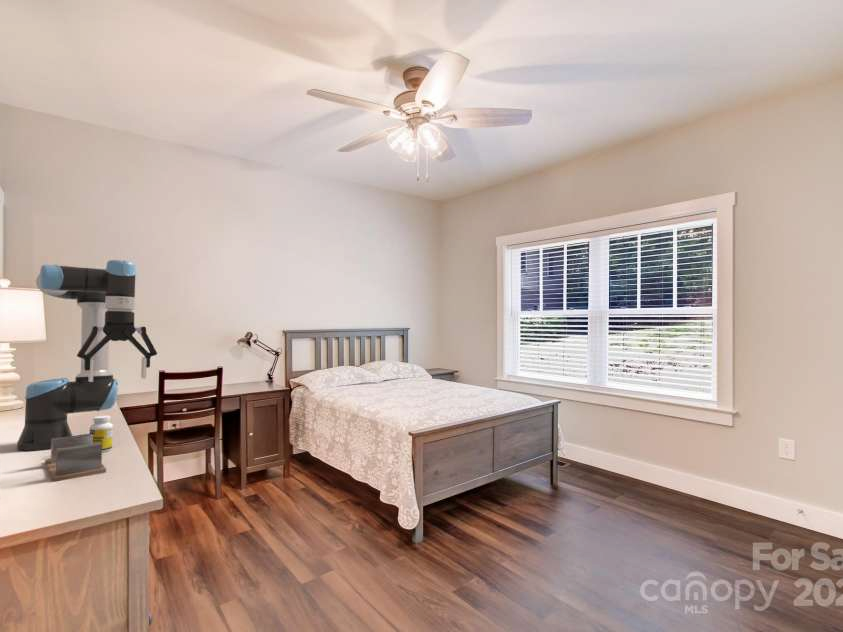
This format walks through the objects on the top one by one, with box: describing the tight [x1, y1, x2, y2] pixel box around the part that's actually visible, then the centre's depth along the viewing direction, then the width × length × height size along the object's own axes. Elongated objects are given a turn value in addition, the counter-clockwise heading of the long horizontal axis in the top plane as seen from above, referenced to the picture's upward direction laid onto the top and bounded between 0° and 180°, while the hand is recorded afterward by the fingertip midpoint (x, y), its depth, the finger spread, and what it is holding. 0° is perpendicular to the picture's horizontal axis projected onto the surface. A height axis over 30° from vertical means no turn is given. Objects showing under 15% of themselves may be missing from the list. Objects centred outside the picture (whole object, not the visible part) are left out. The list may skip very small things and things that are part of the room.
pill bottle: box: [89, 415, 114, 453], centre depth 152 cm, size 6×6×12 cm
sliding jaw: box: [50, 433, 93, 464], centre depth 140 cm, size 7×10×7 cm
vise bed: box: [44, 443, 107, 482], centre depth 134 cm, size 24×12×8 cm, turn 44°
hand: (118, 379), depth 136 cm, fingers open, 13 cm apart
